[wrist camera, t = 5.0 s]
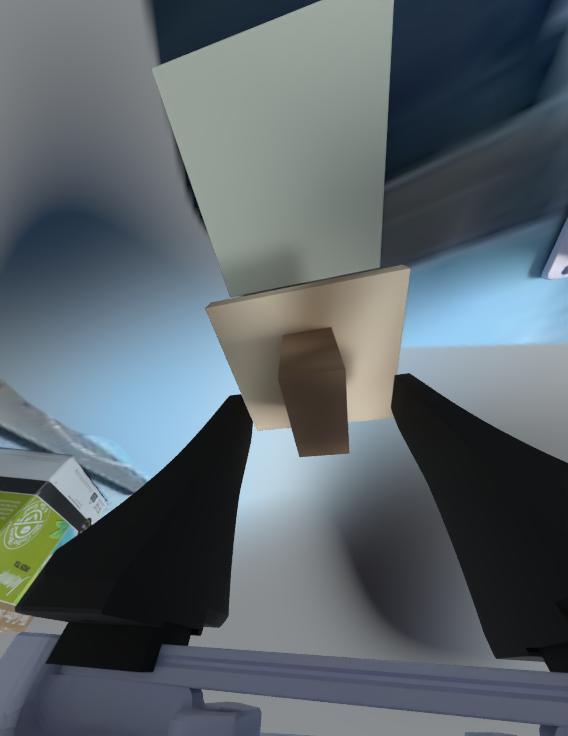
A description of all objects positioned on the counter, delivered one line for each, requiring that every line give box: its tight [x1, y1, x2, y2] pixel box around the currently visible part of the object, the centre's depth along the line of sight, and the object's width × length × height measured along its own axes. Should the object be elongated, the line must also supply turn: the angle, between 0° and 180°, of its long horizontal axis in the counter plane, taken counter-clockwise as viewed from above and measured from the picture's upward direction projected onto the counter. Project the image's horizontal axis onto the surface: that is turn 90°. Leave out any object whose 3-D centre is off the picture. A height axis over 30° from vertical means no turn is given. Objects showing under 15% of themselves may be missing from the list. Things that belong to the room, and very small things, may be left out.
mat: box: [152, 0, 394, 297], centre depth 11 cm, size 10×10×1 cm
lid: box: [205, 265, 411, 457], centre depth 11 cm, size 9×9×4 cm
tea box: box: [0, 449, 108, 632], centre depth 27 cm, size 15×10×15 cm, turn 172°
